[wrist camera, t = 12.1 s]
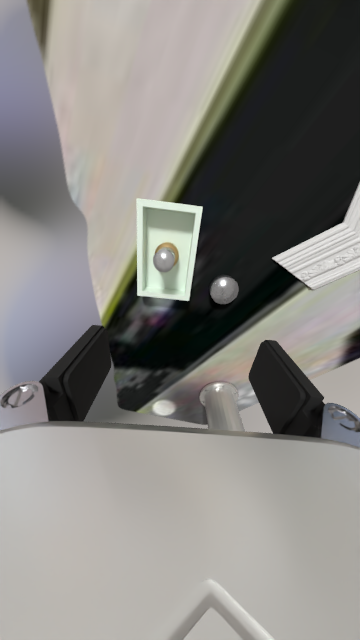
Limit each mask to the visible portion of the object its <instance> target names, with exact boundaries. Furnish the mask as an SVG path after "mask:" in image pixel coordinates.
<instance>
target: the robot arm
mask: <svg viewBox="0 0 360 640" xmlns="http://www.w3.org/2000/svg"><path fill="white" fill-rule="evenodd" d="M110 368H111V358H110V349H109V341H108V333H107V329H104V326H97V325H92V326H91V327H90V328H89V329H88V330H87V331H86V332H85V333H84V335H82V337H81V338H80V339H79V340H78V341H77V342H76V343H75V344H74V345H73V346H72V347H71V348H70V350H68V351H67V352H66V354H65V355H64V356H63V357H62V358H61V359H60V360H59V361H58V362H57V363H56V364H55V365H54V366H53V367H52V369H50V371H49V372H48V373H47V374H46V375H45V376H44V377H43V378H42V379H41V380H40V381H39V382H36V381H27V382H23V383H20V384H17V385H15V386H12V387H11V388H9V389H7V390H6V391H5V392H3V393H2V394H1V395H0V640H360V418H359V417H358V416H357V415H355V414H354V413H353V412H351V411H350V410H348V409H347V408H345V407H343V406H341V405H338V404H334V403H327V404H324V403H323V402H322V400H323V399H324V397H323V396H322V394H321V393H320V392H319V391H318V390H317V388H316V387H315V386H314V385H313V384H312V383H311V381H310V380H309V379H308V378H307V377H306V375H305V374H304V373H303V372H302V371H301V370H300V368H299V367H298V366H297V365H296V364H295V363H294V361H293V360H292V359H291V358H290V357H289V355H288V354H287V353H286V352H285V351H284V350H283V348H282V347H281V346H280V345H279V344H278V342H277V341H272V340H265V341H264V342H262V343H261V344H260V347H259V349H258V352H257V355H256V357H255V360H254V362H253V365H252V368H251V370H250V373H249V381H250V383H251V385H252V387H253V389H254V392H255V394H256V396H257V398H258V401H259V403H260V405H261V407H262V409H263V412H264V414H265V416H266V418H267V421H268V423H269V425H270V427H271V430H272V432H273V434H271V433H257V432H245V430H244V427H243V423H242V420H241V417H240V414H239V411H238V407H237V404H236V401H237V399H238V391H237V389H236V388H235V386H233V385H232V384H230V383H226V382H214V383H211V384H208V385H207V386H205V387H204V388H203V389H202V390H201V391H200V395H199V397H200V402H201V403H202V404H203V405H204V406H205V407H206V415H207V422H208V429H200V428H185V427H170V426H154V425H137V424H121V423H102V422H83V420H84V419H85V417H86V415H87V413H88V411H89V409H90V407H91V405H92V403H93V401H94V399H95V397H96V396H97V394H98V391H99V390H100V388H101V386H102V384H103V382H104V380H105V378H106V376H107V374H108V372H109V370H110Z"/></svg>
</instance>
